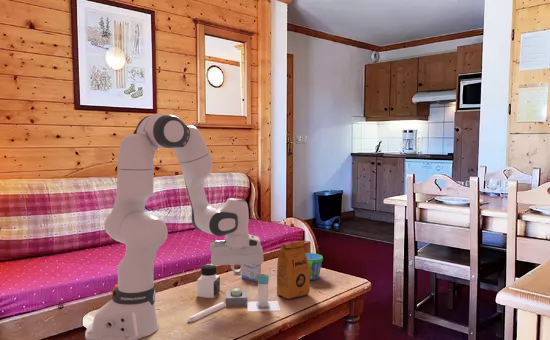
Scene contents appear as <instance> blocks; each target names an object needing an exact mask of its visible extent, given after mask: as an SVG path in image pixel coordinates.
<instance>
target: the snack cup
mask: <svg viewBox="0 0 550 340" xmlns="http://www.w3.org/2000/svg"><path fill="white" fill-rule="evenodd" d="M305 254H306V256H307V259H308V263H309V268H310V276H309V281H316V280H319V278H320V273H321V268H322V262H323V261H324V257H323V255H321V254H318V253H315V252H313V253H312V252H308V253H307V252H305Z"/></svg>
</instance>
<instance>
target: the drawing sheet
mask: <svg viewBox="0 0 550 340" xmlns="http://www.w3.org/2000/svg"><path fill="white" fill-rule="evenodd" d="M246 308H247V312H249V313H251V312H252V313H253V312H280V311H281V307H280V305H279V301H278V300H268V307H265V308H261V307H258V300H257V301H247V305H246Z"/></svg>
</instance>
